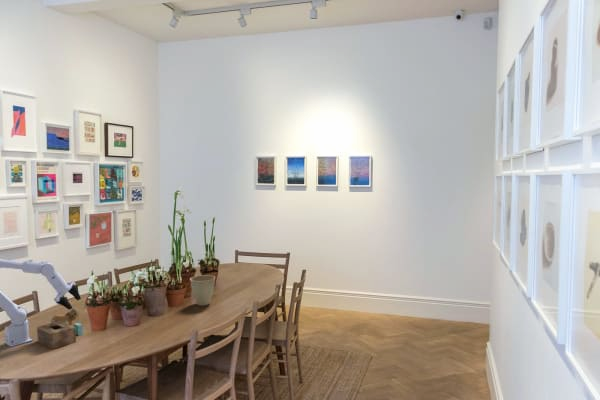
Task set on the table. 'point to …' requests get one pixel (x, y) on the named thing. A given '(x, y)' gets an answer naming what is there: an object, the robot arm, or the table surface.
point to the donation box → (56, 334)
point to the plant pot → (202, 288)
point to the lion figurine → (67, 316)
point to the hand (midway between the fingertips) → (75, 304)
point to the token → (78, 329)
